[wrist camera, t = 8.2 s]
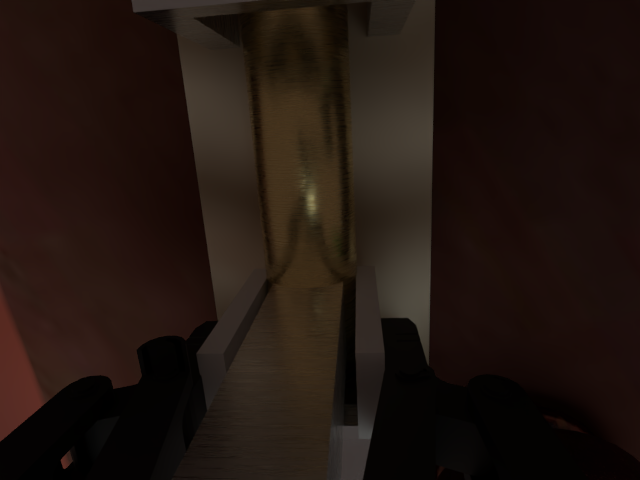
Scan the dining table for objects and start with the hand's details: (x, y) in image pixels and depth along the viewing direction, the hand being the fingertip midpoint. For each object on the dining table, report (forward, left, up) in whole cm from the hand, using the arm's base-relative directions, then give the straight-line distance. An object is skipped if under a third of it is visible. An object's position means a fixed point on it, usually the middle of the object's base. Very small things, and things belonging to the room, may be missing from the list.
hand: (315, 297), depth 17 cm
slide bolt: (-4, 0, -1) cm, 5 cm away
